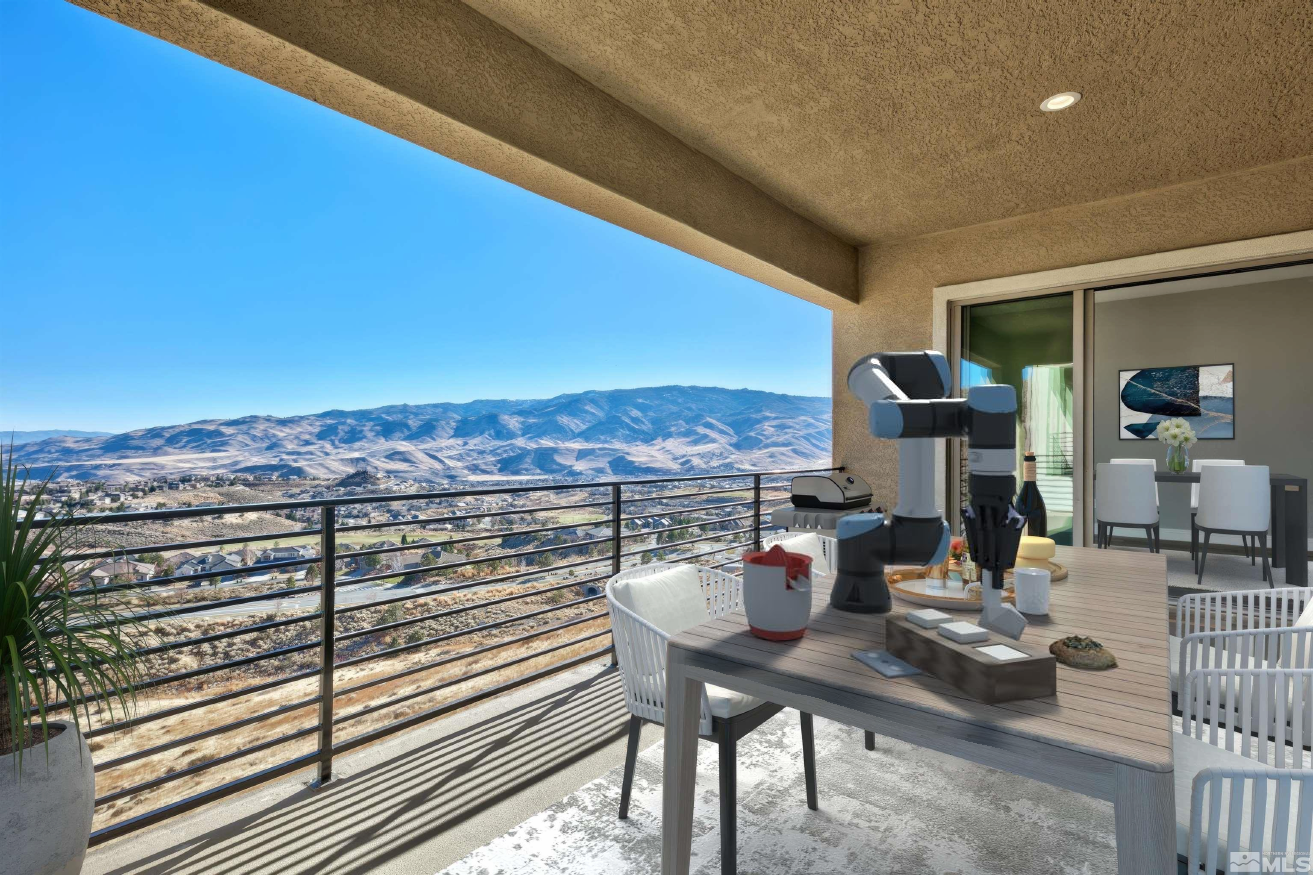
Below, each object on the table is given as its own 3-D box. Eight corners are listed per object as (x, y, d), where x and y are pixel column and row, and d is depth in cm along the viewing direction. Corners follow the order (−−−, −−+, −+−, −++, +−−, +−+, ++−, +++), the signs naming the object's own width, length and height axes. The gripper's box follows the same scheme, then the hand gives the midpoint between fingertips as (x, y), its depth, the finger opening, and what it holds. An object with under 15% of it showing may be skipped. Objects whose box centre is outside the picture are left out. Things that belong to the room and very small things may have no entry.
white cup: (1058, 615, 151) (1057, 574, 151) (1025, 615, 151) (1024, 574, 151) (1038, 606, 159) (1038, 567, 158) (1007, 606, 159) (1006, 567, 158)
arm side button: (907, 625, 128) (907, 611, 128) (931, 623, 130) (931, 608, 130) (927, 635, 122) (927, 619, 122) (952, 632, 124) (952, 616, 124)
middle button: (938, 639, 120) (938, 624, 119) (964, 636, 121) (964, 621, 121) (961, 650, 114) (961, 634, 114) (988, 646, 115) (988, 630, 115)
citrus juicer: (774, 652, 128) (773, 554, 128) (729, 628, 144) (728, 541, 143) (834, 640, 135) (833, 547, 134) (784, 619, 150) (783, 535, 150)
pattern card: (850, 655, 126) (850, 652, 126) (881, 651, 128) (881, 649, 128) (888, 677, 114) (888, 675, 114) (921, 673, 116) (921, 670, 116)
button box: (885, 649, 129) (885, 618, 128) (942, 642, 132) (942, 612, 132) (989, 704, 103) (989, 665, 103) (1056, 694, 106) (1056, 656, 106)
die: (1024, 653, 128) (1040, 611, 130) (984, 631, 129) (1000, 589, 132) (1003, 654, 135) (1018, 614, 138) (965, 633, 137) (981, 594, 140)
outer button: (974, 665, 111) (974, 648, 111) (1001, 661, 113) (1001, 644, 112) (1001, 677, 105) (1001, 659, 105) (1030, 673, 107) (1030, 656, 107)
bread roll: (1052, 644, 131) (1055, 621, 130) (1117, 664, 124) (1121, 640, 123) (1043, 662, 122) (1046, 638, 121) (1112, 684, 115) (1117, 658, 114)
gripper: (947, 471, 116) (947, 598, 116) (1004, 476, 103) (1004, 618, 104) (980, 469, 118) (980, 594, 118) (1040, 474, 105) (1040, 614, 106)
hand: (991, 605), depth 111 cm, fingers closed
